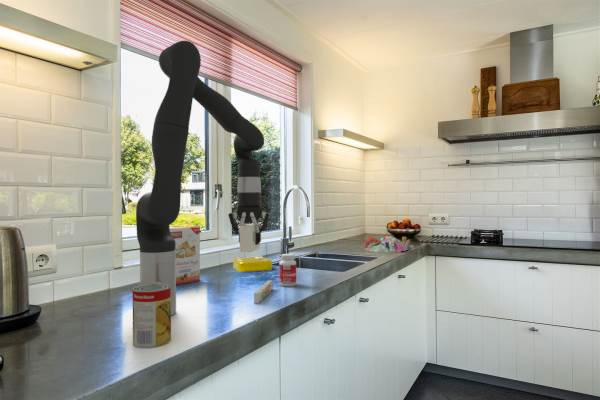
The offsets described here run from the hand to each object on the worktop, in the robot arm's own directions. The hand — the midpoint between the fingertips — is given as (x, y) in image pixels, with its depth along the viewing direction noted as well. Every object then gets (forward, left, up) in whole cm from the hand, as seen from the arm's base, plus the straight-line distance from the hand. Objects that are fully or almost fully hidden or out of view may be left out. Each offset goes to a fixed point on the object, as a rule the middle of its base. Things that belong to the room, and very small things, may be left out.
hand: (249, 244), depth 134 cm
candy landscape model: (+121, -53, -17) cm, 133 cm away
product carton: (0, 0, -2) cm, 2 cm away
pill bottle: (+17, -9, -17) cm, 26 cm away
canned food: (-45, +11, -17) cm, 49 cm away
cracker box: (+18, +32, -17) cm, 40 cm away
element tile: (+51, +12, -17) cm, 56 cm away
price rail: (0, -4, -17) cm, 17 cm away
